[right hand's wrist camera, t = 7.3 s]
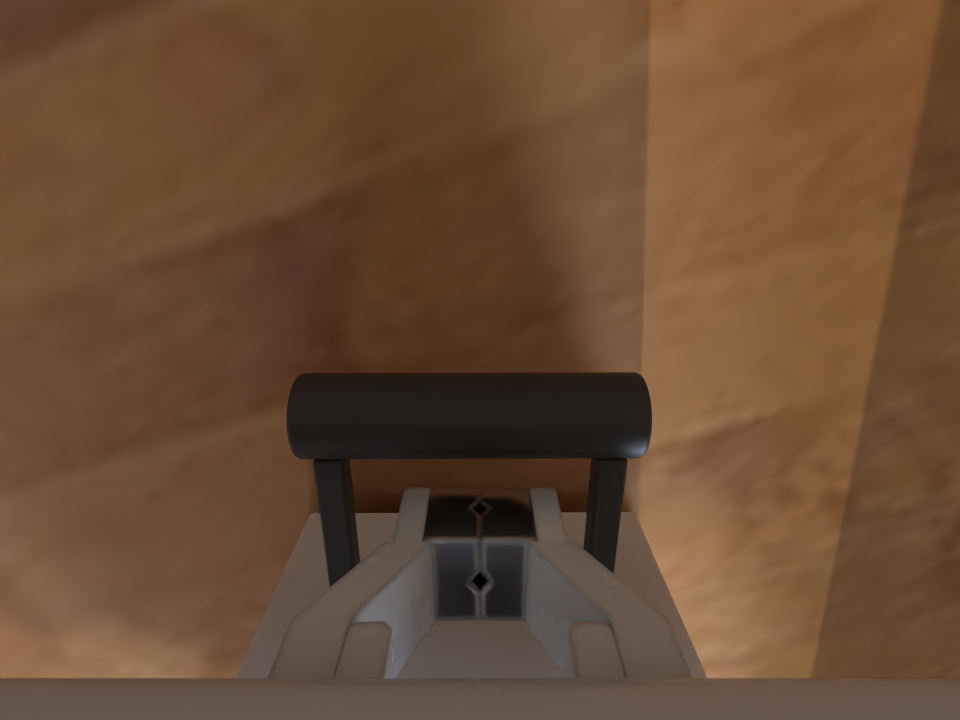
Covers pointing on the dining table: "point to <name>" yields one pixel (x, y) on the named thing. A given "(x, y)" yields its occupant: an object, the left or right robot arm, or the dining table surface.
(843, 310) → the dining table surface
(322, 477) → the drawer
